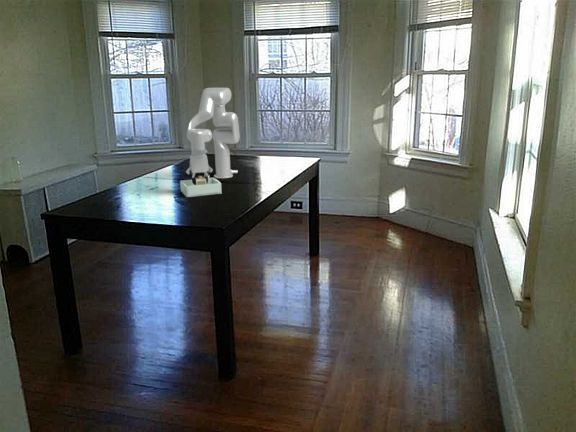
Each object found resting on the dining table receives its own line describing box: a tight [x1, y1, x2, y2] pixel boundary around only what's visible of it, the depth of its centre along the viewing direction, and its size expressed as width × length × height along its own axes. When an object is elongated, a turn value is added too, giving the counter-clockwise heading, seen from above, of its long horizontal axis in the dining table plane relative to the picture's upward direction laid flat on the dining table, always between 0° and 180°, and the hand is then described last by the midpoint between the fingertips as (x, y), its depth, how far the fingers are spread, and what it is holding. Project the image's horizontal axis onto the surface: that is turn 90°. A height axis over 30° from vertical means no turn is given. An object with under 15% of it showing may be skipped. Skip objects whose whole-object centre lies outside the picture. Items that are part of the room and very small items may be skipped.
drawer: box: [195, 175, 206, 185], centre depth 299 cm, size 6×6×8 cm
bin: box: [179, 177, 223, 198], centre depth 299 cm, size 20×18×6 cm
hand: (200, 183), depth 299 cm, fingers open, 6 cm apart
